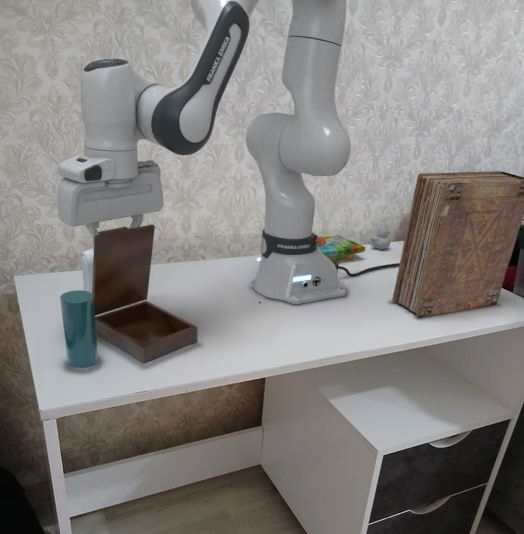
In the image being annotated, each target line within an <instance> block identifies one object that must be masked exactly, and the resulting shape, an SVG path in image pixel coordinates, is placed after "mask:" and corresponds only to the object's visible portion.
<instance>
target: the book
mask: <svg viewBox="0 0 524 534" xmlns="http://www.w3.org/2000/svg"><path fill="white" fill-rule="evenodd" d="M523 219H524V176H520V175H517V174H513V173H510V172H505V171H503V170H500V171H499V170H497V171H495V170H494V171H460V172H459V171H458V172H421V173H418V174H417V178H416V183H415V187H414V192H413V196H412V201H411V208H410V212H409V217H408V222H407V225H406V226H407V227H406V231H405V236H404V242H403V245H402V249H401V250H402V251H401V256H400V261H399V263H400V265H399V266H398V271H397V275H396V280H395V285H394V290H393V294H392V299H391V302H392V303H393V304H397V303H398V304H400V305H401V306H403V307H404V308H406V309H408V310H409V311H411V312H413V313H414V314H416V318H418V319H422V318H428V317H433V316H439V315H445V314H449V313H456V312H461V311H467V310H472V309H479V308H484V307H489V306H495V305H497V304H498V302H499V299H500V295H501V293H502V289H503V285H504V282H505V280H506V275H507V272H508V270H509V265H510V262H511V259H512V256H513V253H514V249H515V246H516V242H517V239H518V235H519V232H520V229H521V226H522V221H523Z"/></svg>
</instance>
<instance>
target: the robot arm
mask: <svg viewBox="0 0 524 534" xmlns="http://www.w3.org/2000/svg"><path fill="white" fill-rule="evenodd" d="M189 1H190V5H191V9H192V12H193V14H194V16H195V18H196V20H197V21H198V23H199V24H200V25H201V26H202V28H203V29H204V30H205V36H204V41H203V43H202V45H201V47H200V49H199V51H198V53H197V55H196V58H195V60H194V62H193V65H192V66H191V69H190V71H189V73H188V75H187V77H186V79H185V80H184V81H183V82H182V83H180V84H179V85H176V86H175V87H173V86H170V85H165V84H161V83H159V82H157V81H155V80H153V79H151V78H150V77H147V76H146V75H144V74H143V73H141V72H140V71H139V70H137V69H136V68H135V67H134V66H133V65H132V64H131V62H130V61H128V60H126V59H123V58H104V59H99V60H95V61H94V60H93V61H91V62H90V63H88V64H86V65H85V66H84V68H83V70H82V73H81V81H80V108H81V109H80V110H81V120H82V123H83V125H84V130H85V135H84V139H83V140H84V141H83V151H81V152H79V153H78V154H75V155H74V156H72V157H69V158H67V159H65V160H63V161H61V162H60V163H59V164H58V165H57V171H58V174H59V175H60V177H63V178H62V179H60V180H59V182H58V185H57V191H56V192H57V194H56V195H57V196H56V199H57V213H58V218H59V219H60V220H61V222H62V223H64V224H66V225H68V226H70V227H79V226H85V228H86V229H87V231H88V232H89V233H90V235H91V236H92V244H93V245H94V236H97V235H101V234H99V232H100V231H98V229H99V228H100V223H102V222H107V221H113V220H118V219H124V218H129V217H130V218H131V219H132V220H131V223H130V225H129V227H127V228H128V229H132V228H137V227H141V226H142V223H143V221H144V215H145V214H152V213H156V212H161V210H162V209H163V207H164V203H165V202H164V191H163V184H162V180H161V167H160V166H159V164H158V163H156V162H155V161H154V160H152V159H151V160H150V159H149V160H146V161H145V160H144V161H141V160H140V161H139V159H138V158H139V155H138V153H139V152H138V144H139V141H141V140H145V141H148V142H149V143H151V144H154V145H157V146H160V147H162V148H163V149H166V150H168V151H169V152H172V153H173V154H175V155H179V156H191V155H193V154H196V153H197V152H199V151H201V150H202V149H203V148H204V147H205V146H206V144H208V142H209V140H210V138H211V136H212V132H213V130H214V126H215V121H216V116H217V112H218V109H219V105H220V103H221V100H222V97H223V95H224V93H225V91H226V88H227V86H228V84H229V82H230V80H231V77H232V74H233V73H234V71H235V68H236V66H237V64H238V62H239V59H240V57H241V55H242V52H243V51H244V48H245V45H246V42H247V39H248V37H249V33H250V19H251V17H252V15H253V13H254V11H255V9H256V7H257V6H258V4H259V2H260V0H189ZM291 3H292V15H291V19H290V24H289V27H288V33H287V39H286V45H285V51H284V58H283V64H282V70H281V81H282V84H283V86H284V88H285V89H286V90H287V91H288V92H289V93H290V96H291V98H292V102H293V108H294V109H293V110H294V113H293V114H289V113H283V112H268V113H260V114H258V115H256V116H254V117H253V118H252V119H251V121H250V123H249V124H248V127H247V129H246V134H245V144H246V149H247V151H248V153H249V154H250V155H251V157H252V158H253V159H254V161H255V163H256V165H257V167H258V170H259V172H260V173H259V174H260V176H261V179H262V184H263V188H264V196H265V208H264V209H265V210H264V211H265V212H264V228H263V229H262V231H261V239H260V254H261V256H260V257H257V258H256V261H257V262H259V267H258V270H257V274H256V276H255V277H256V278H255V280H254V282H253V284H252V287H253V289H254V291H255V292H256V293H258V294H259V295H262V296H263V297H267V298H270V299H275V300H278V301H284V302H287V303H289V304H293V305H301V304H306V303H312V302H317V301H322V300H329V299H334V298H339V297H345V296H346V289H347V288H346V287H345V285H344V283H342V282H341V281H340V280H339V277H338V273H339V270H343V271H344V272H345V273H346V274H347V276H349V277H358V276H360V275H362V274H365V273H367V272H369V271H374V270H379V269H383V268H392V267H399V265H400V262H397V263H388V264H383V265H377V266H372V267H368V268H366V269H363V270H361V271H359V272H355V273H351V272H350V271H349V269H348V268H347V267H344V266H341V265H339V263H338V262H333V261H331V260H329V259H328V258H327V257H326V256H325V255H324V254H323V253H322V252H321V251H320V250H318V249H317V245H318V246H319V247H324V245H326V244H325V243H326V240H325V239H323V238H322V237H323V236H319V235H318V234H316V233H315V232H313V226H314V220H315V219H314V217H315V210H316V209H315V208H316V201H315V198H314V195H313V194H312V192H311V191H310V190H309V189H308V188H307V186H306V184H305V182H304V179H303V175H302V174H305V175H309V176H313V177H333V176H336V175H338V174H340V173H341V172H342V171H343V169H345V167H346V166H347V164H348V162H349V160H350V157H351V152H352V144H351V139H350V136H349V133H348V131H347V130H346V129H345V128H344V126H343V124H342V122H341V120H340V116H339V114H338V110H337V104H336V82H337V75H338V70H339V69H338V68H339V65H340V58H341V53H342V47H343V42H344V36H345V30H346V29H345V28H346V20H347V19H346V18H347V0H291Z"/></svg>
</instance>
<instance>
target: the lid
mask: <svg viewBox="0 0 524 534" xmlns="http://www.w3.org/2000/svg"><path fill="white" fill-rule="evenodd" d="M128 228H129V227H127V226H120V227H115V228H110V229H105V230H100V231H98V232H99V234H101V235H97V236H94V244H93V248H94V256H93V283H92V294H93V299H94V311H95V317H97V316H100V315H103V314H106V313H109V312H112V311H115V310H119V309H122V308H125V307H128V306H131V305H134V304H137V303H141V302H143V301H148V295H149V286H150V275H151V267H152V257H153V248H154V247H153V246H154V240H155V239H154V237H155V229H156V226H155V225H154V224H147V225H141V226H140V227H137V228H132V229H128Z"/></svg>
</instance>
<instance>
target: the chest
mask: <svg viewBox="0 0 524 534" xmlns="http://www.w3.org/2000/svg"><path fill="white" fill-rule="evenodd" d="M95 323H96V335H97V336H98V337H100V338H102V339H103V340H105V341H106V342H108V343H109V344H111V345H113V346H114V347H116V348H118V350H119V349H120V350H121V351H122V352H124V353H126V354H127V355H129V356H131V357H132V358H134V359H135V360H137V361H139V362H141V363H142V364H147V363H149V362H151V361H154V360H157V359H159V358H161V357H164V356H167V355H169V354H171V353H174V352H177V351H179V350H181V349H183V348H186V347H189V346H191V345H193V344H196V343H198V326H197V325H195V324H193V323H191V322H188V321H187V320H185V319H183V318H181V317H179V316H178V315H175V314H174V313H171V312H169V311H167V310H166V309H164V308H161V307H160V306H157V305H156V304H154V303H151V302H150V301H148V300H143V301H140V302H137V303H134V304H131V305H128V306H124V307H121V308H118V309H115V310H112V311H109V312H105V313H102V314H99V315H96V316H95Z"/></svg>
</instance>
